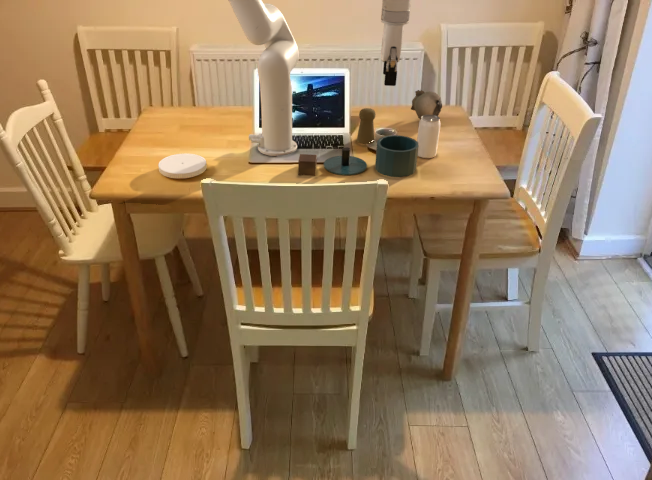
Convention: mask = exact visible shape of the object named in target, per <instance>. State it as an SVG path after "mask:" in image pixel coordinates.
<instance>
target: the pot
mask: <svg viewBox="0 0 652 480" xmlns="http://www.w3.org/2000/svg"><path fill="white" fill-rule="evenodd" d="M418 147H419V145H418V142H417V139H415V138H413V137H410V136H406V135H400V134H399V135H397V134H392V135H385V136H382V137H379V138H378V140H376V148H375V149H376V150H375V163H374V170H375V171H376V172H377V173H379V174H381V175H383V176H385V177H390V178H404V177H410V176H411V175H414V173H416V170H417V163H418V156H417V155H418Z"/></svg>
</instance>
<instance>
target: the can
mask: <svg viewBox="0 0 652 480" xmlns="http://www.w3.org/2000/svg"><path fill="white" fill-rule="evenodd" d="M440 120H441V118H440V116H439V115H438V116H436V115H423V116H422V117H421V120H420V119H419V121H418V129H417V136H416V137H417V138H416V141H417V142H418V145H419V147H418V155H417V158H421V159H433V158H435V157H436V156H437V152H438V145H439V139H440V132H441V131H440V130H441V121H440Z"/></svg>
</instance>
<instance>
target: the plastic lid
mask: <svg viewBox="0 0 652 480" xmlns="http://www.w3.org/2000/svg"><path fill="white" fill-rule="evenodd" d="M207 165H208V164H207V160H206V158H205V157H203V156H201V155H199V154H195V153H189V152H186V153H185V152H184V153H175V154H171V155H168V156H166V157H164V158H162V159H160V160H159V162H158V165H157V167H158V172H159V173H160V174H161V175H162V176H164V177H167V178H170V179H189V178H193V177H197V176H200V175H201V174H203V173H204V172H205V171H206V170H207V167H208V166H207Z"/></svg>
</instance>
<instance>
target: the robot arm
mask: <svg viewBox="0 0 652 480" xmlns="http://www.w3.org/2000/svg"><path fill="white" fill-rule="evenodd" d="M228 2H229V5H230V6H231V9H232V11H233V13H234V15H235V18H236V20H237V21H238V23H239V25H240V27H241V29H242V31H243V33H244V36H245V37H246V39H247V40H248V42H250V43H251V44H252V45H255V46H262V45H264V47H265V49H264V50H263V51H262V52H261V53H260V55H259V58H258V61H257V75H258V79H259V80H258V81H259V90H260V108H261V109H260V111H261V114H260V115H261V133H259V134H251V133H249V134H248V141H251V142H250V143H251V144H257V150H258V152H259V153H261V154H263V155H265V156H270V157H277V156H285V155H286V156H287V155H290V154H292V153H294V152H296V151H297V149H298V143H297V142H296V141H294V140H293V88H292V80H291V72H292V71H293V69H294V68H295V67H296V66H297V65H298V63H299V61H300V49H299V46H298V44H297V41H296V39H295V38H294V35H293V33H292V31H291V29H290V27H289V24H288V23H287V20H286V18H285V15H283V13H282V12H281V10H280V9H279V8H278V7H277V6H276V5H274V4H272V3H268V2H267V3H266V2H265V3H264V2H263V0H228ZM411 3H412V0H382V3H381V12H380V13H381V14H380V22H381V23H382V24H383V29H382V41H381V48H380V49H381V50H380V59H381V62H382V63H383V68H382V69H383V70H382V74H383V75H384V82H383V83H384V86H389V87H396V85H397V78H398V63H399V62H400V59H401V55H402V54H401V53H402V45H403V38H404V28H405V25H408V24H409V22H410V15H411V14H410V13H411Z"/></svg>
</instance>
